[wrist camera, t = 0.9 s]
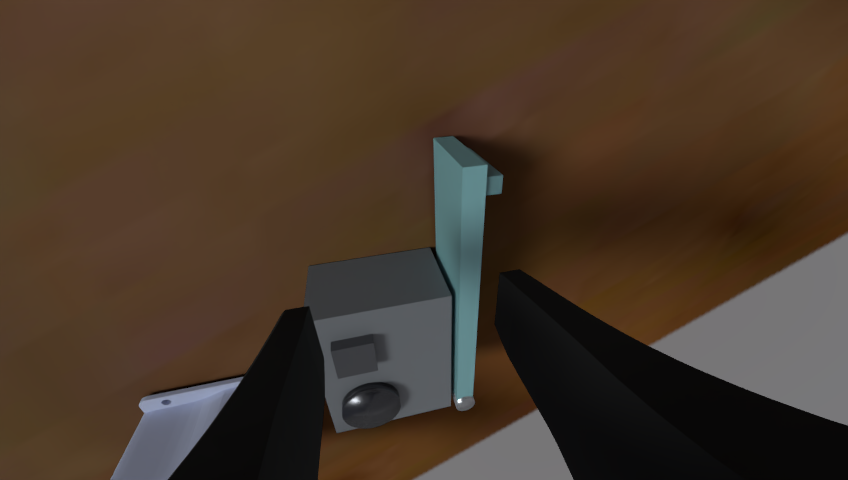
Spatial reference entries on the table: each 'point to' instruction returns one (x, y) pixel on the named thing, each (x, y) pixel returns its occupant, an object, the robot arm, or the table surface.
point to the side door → (461, 249)
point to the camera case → (382, 336)
